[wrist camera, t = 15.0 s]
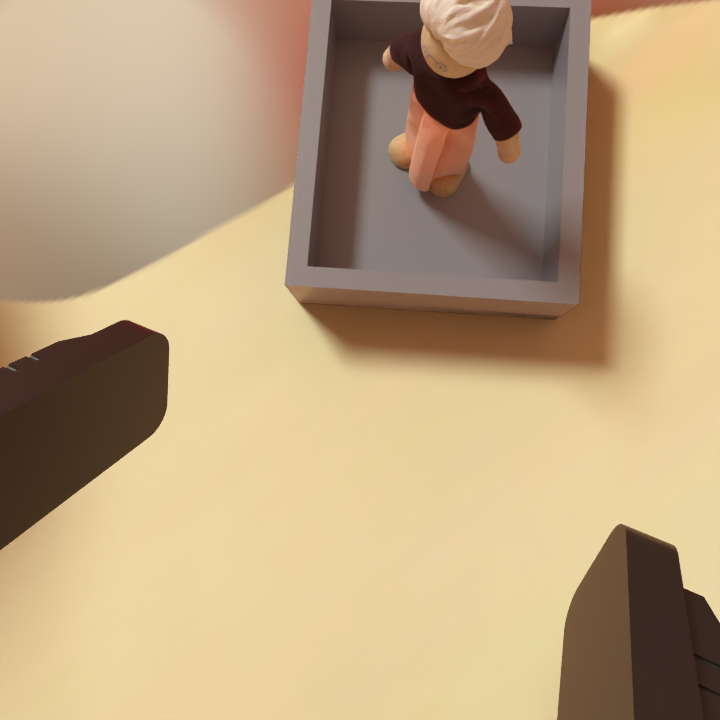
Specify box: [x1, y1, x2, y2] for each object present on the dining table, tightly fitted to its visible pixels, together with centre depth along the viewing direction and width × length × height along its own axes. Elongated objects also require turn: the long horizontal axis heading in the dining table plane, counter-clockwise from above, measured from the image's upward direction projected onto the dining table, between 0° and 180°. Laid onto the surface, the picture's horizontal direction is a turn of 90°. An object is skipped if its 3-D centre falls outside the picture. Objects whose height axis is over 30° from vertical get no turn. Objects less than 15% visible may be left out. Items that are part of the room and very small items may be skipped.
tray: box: [285, 0, 591, 320], centre depth 30 cm, size 14×16×4 cm
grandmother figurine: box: [383, 0, 522, 197], centre depth 24 cm, size 8×4×13 cm, turn 59°
